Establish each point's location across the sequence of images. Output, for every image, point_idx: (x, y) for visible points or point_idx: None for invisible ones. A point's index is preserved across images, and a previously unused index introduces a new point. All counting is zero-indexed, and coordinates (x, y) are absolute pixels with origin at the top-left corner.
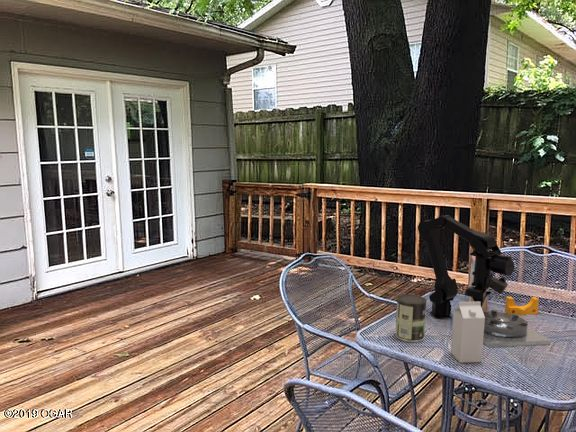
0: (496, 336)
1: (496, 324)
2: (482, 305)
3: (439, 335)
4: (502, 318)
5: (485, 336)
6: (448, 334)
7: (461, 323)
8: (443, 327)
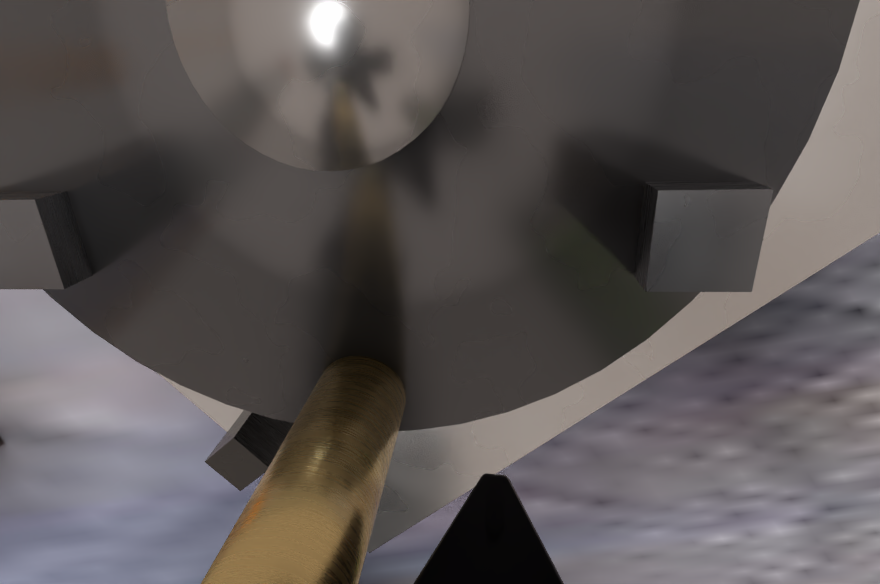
0: None
1: (671, 56)
2: (469, 560)
3: (848, 577)
4: (278, 9)
5: (837, 171)
6: (781, 521)
7: None
8: (609, 580)
